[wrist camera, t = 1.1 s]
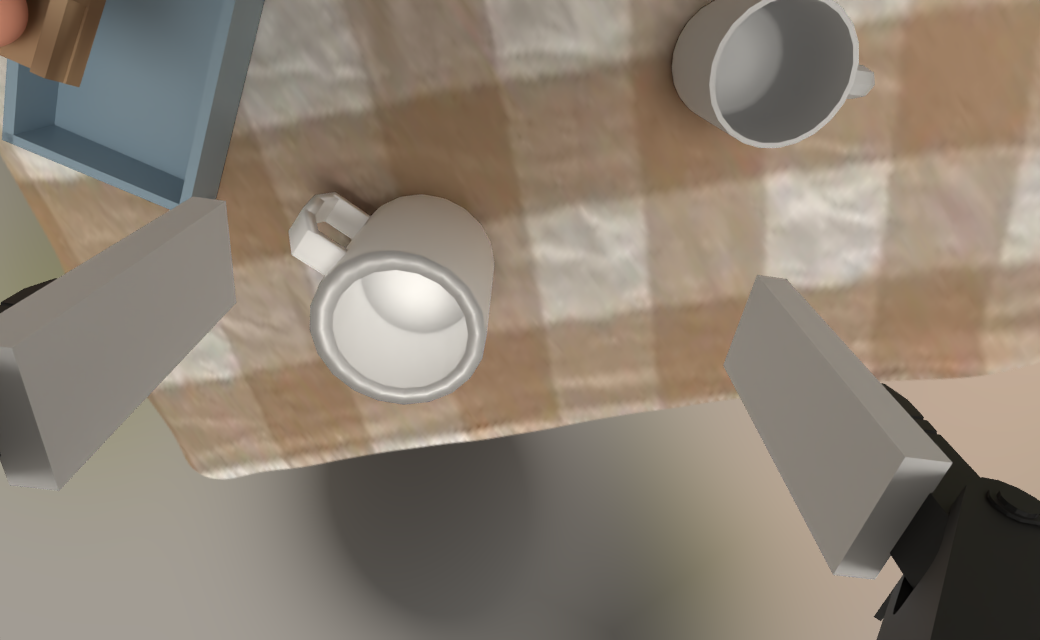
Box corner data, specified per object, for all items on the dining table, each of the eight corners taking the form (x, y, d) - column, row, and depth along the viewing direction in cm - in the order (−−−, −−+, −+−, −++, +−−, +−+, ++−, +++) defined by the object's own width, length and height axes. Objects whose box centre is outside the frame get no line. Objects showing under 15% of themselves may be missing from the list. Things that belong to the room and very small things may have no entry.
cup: (686, -15, 35) (733, -21, 27) (847, 9, 35) (940, 10, 28) (657, 111, 38) (692, 138, 30) (805, 132, 39) (877, 163, 31)
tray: (72, -105, 33) (18, -119, 29) (266, -8, 35) (237, -9, 32) (49, 127, 39) (2, 139, 35) (215, 198, 41) (187, 216, 38)
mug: (290, 247, 43) (224, 314, 33) (361, 133, 39) (310, 173, 30) (443, 345, 47) (423, 430, 37) (522, 250, 43) (522, 319, 33)
